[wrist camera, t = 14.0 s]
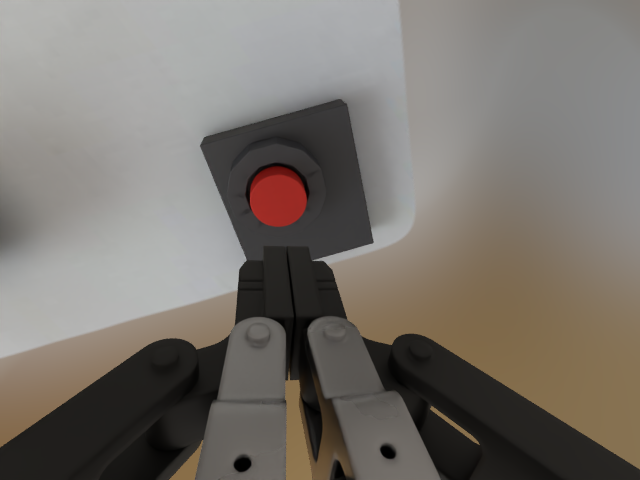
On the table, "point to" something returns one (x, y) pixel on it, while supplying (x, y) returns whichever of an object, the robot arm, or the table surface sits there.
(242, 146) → the button block
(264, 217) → the button
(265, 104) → the table surface
